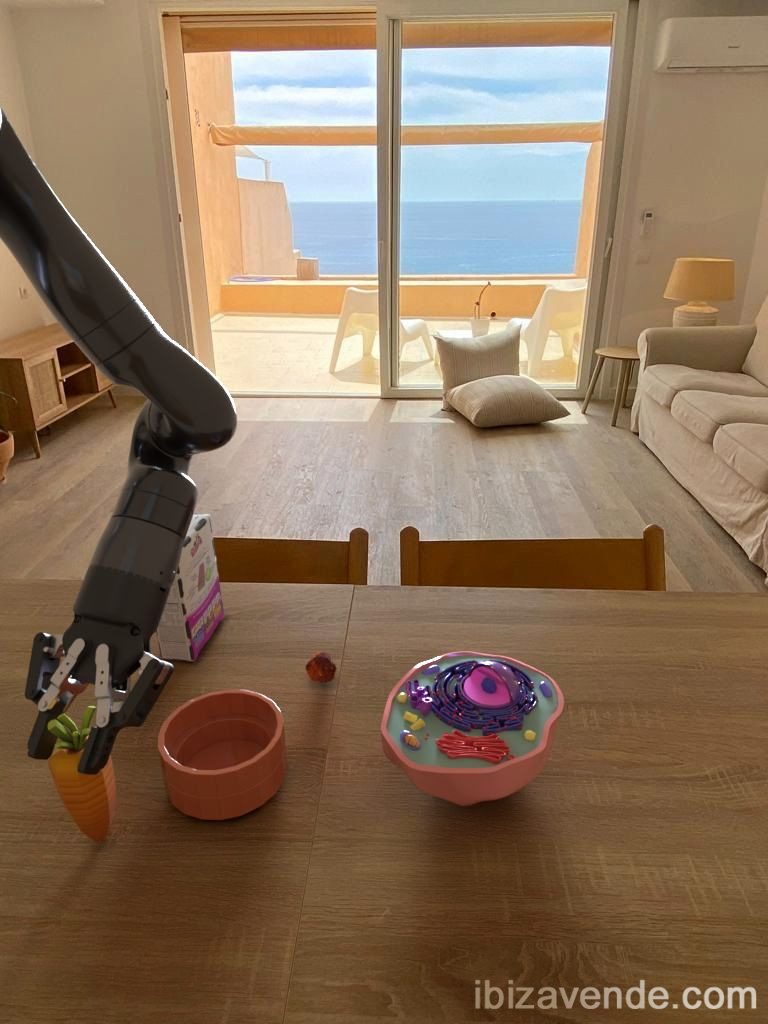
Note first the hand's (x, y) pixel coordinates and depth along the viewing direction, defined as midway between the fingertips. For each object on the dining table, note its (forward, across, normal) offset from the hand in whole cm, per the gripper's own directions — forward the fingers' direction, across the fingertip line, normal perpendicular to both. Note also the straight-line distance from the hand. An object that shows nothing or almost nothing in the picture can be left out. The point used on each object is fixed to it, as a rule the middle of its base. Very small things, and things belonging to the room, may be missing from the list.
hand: (62, 764), depth 59 cm
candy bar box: (-15, -10, +31) cm, 37 cm away
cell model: (-7, +31, +23) cm, 39 cm away
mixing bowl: (-1, +7, +17) cm, 18 cm away
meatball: (-13, +10, +29) cm, 34 cm away
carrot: (+7, 0, +9) cm, 11 cm away
